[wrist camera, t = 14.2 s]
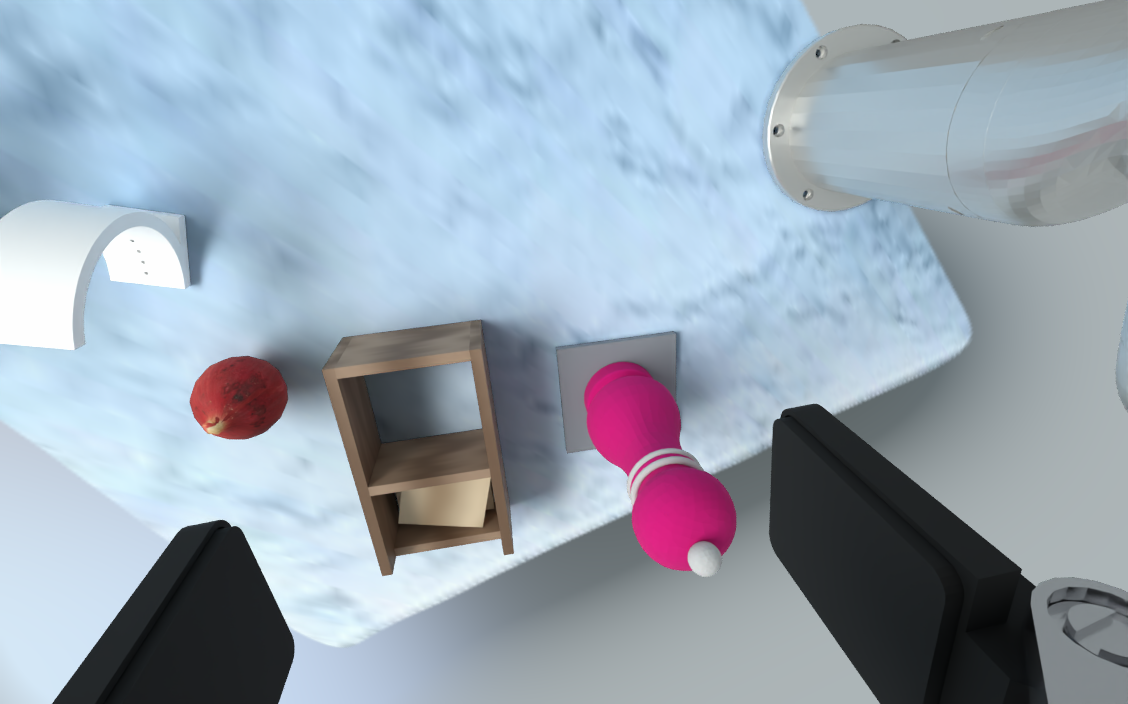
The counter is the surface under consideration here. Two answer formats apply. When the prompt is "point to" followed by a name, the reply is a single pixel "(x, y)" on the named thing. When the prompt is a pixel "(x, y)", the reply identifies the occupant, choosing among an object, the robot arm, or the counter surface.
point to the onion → (239, 397)
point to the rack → (422, 457)
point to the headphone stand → (78, 264)
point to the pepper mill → (659, 470)
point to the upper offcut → (446, 504)
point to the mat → (591, 357)
